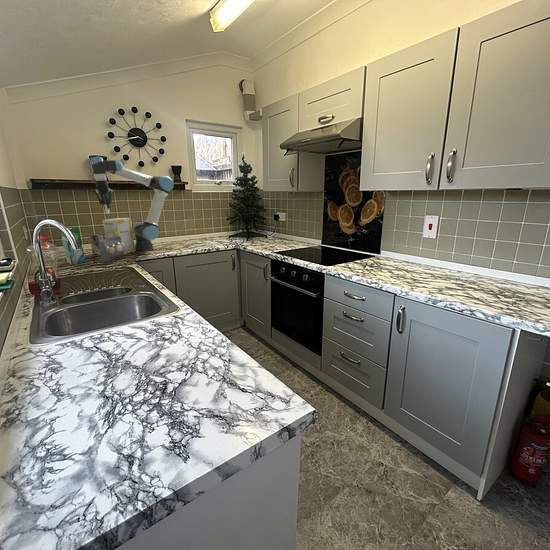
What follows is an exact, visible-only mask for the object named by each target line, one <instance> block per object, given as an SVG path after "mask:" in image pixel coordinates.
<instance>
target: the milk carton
mask: <svg viewBox="0 0 550 550" xmlns="http://www.w3.org/2000/svg"><path fill="white" fill-rule="evenodd" d="M67 229H69V230H70V231H71V232H72V233H73V235H74V236H75V238H76V240H77V242H78V244H79V247H80V250H74V249H73V248H72V247H71V246H70V244H69V242H68V240H67V238H66V237H65V235H64V234H63V233H62V232H61V231H60V236H61V241H62V245H63V249H64V254H65V260H66V263H67V264H69V265H71V266H72V265H73V264H74V265H78V263H79V264H83V263H82V262H85V263H86V257H85V252H84V248H83V247H84V246H83V242H82V238H81V233H80V229H79V228H78V227H76V228H71V227H69V228H67ZM74 265H73V266H74Z"/></svg>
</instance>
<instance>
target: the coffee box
mask: <svg viewBox="0 0 550 550" xmlns="http://www.w3.org/2000/svg"><path fill="white" fill-rule="evenodd" d="M88 237H89V241H90V246H91V250H92V251H91V252H92V255H93V254H98V255H97V256H101V255H100V250H99V245H98V242H99V241H102V240H106V237H105V234H91V235H88Z"/></svg>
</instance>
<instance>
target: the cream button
mask: <svg viewBox="0 0 550 550" xmlns="http://www.w3.org/2000/svg"><path fill="white" fill-rule="evenodd" d="M115 249H116V251H122V249H123V248H122V246H121V245H116V247H115Z"/></svg>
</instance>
